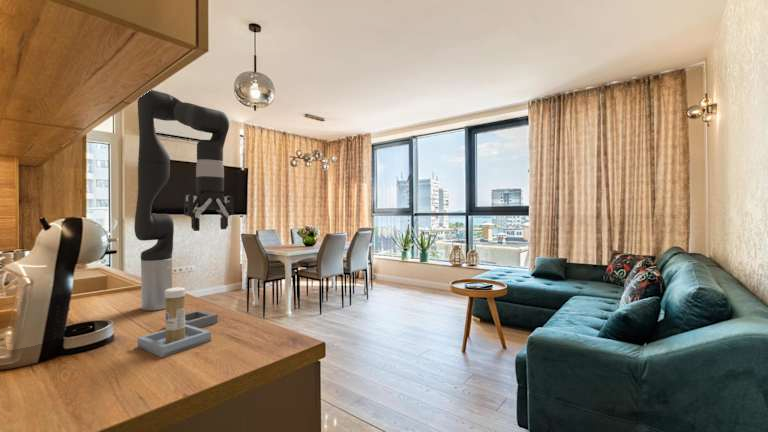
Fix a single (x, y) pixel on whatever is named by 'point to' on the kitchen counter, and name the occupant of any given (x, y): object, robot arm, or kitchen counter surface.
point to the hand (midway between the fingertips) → (210, 230)
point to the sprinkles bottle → (175, 314)
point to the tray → (162, 348)
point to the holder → (200, 318)
